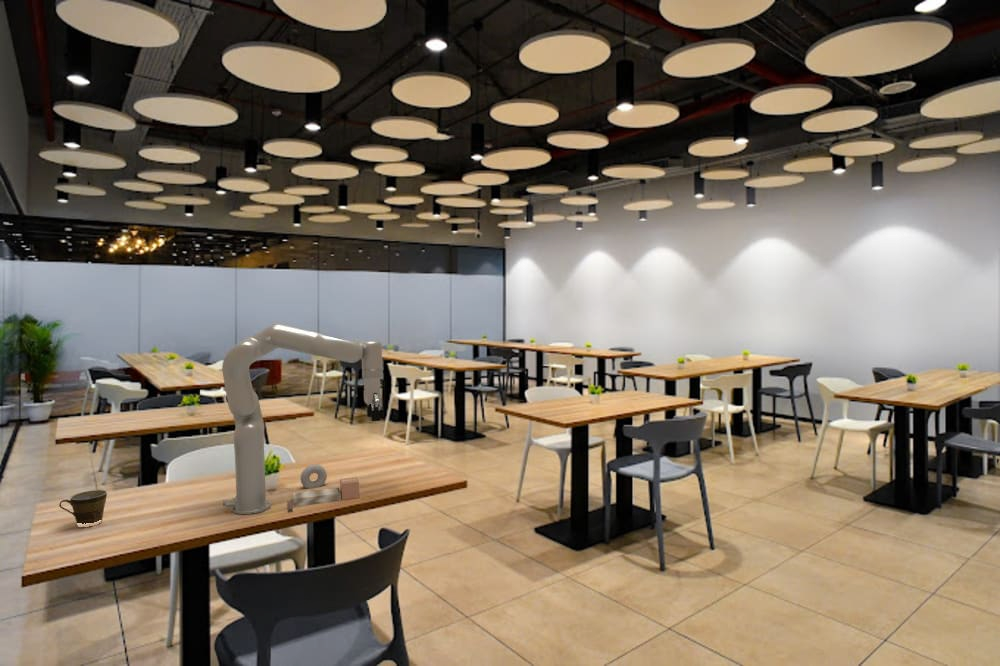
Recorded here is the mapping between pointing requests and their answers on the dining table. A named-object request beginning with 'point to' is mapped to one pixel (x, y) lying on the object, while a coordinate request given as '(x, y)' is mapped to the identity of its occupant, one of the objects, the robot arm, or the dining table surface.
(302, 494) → the board
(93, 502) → the ceramic cup
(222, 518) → the dining table surface
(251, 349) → the robot arm
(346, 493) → the taped shipping carton
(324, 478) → the donut
